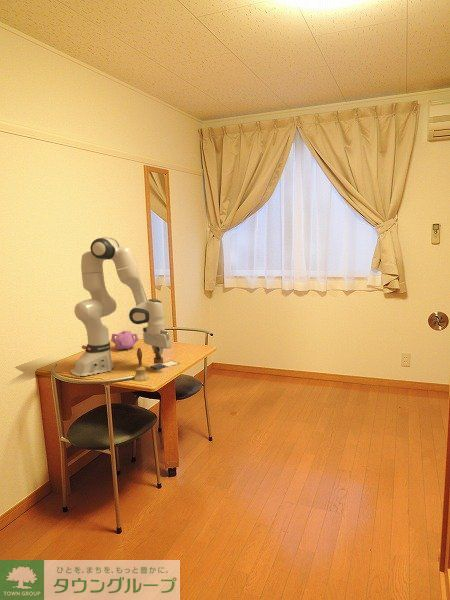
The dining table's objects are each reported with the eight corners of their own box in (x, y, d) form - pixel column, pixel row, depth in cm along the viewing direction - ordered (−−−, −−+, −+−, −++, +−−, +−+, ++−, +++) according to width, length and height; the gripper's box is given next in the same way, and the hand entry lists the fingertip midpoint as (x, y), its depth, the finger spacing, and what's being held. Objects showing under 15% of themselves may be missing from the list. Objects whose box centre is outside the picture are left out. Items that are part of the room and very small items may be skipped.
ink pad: (156, 370, 219) (156, 368, 219) (150, 368, 223) (149, 366, 222) (165, 367, 223) (165, 365, 223) (159, 365, 227) (159, 363, 227)
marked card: (168, 367, 223) (168, 366, 223) (159, 364, 229) (159, 364, 228) (180, 363, 230) (180, 363, 230) (171, 361, 235) (171, 360, 235)
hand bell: (143, 382, 202) (142, 351, 200) (129, 380, 205) (127, 349, 203) (152, 376, 210) (151, 346, 207) (138, 374, 213) (137, 345, 210)
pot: (116, 344, 272) (115, 327, 270) (142, 344, 271) (141, 327, 269) (107, 352, 254) (106, 334, 252) (135, 352, 253) (134, 334, 252)
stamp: (153, 363, 220) (152, 347, 219) (153, 361, 224) (152, 345, 223) (163, 363, 221) (162, 346, 220) (163, 361, 225) (162, 344, 223)
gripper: (173, 330, 215) (174, 355, 217) (149, 325, 229) (151, 349, 231) (163, 332, 210) (165, 358, 212) (140, 328, 224) (142, 352, 226)
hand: (158, 354), depth 222 cm, fingers closed on stamp, 3 cm apart
